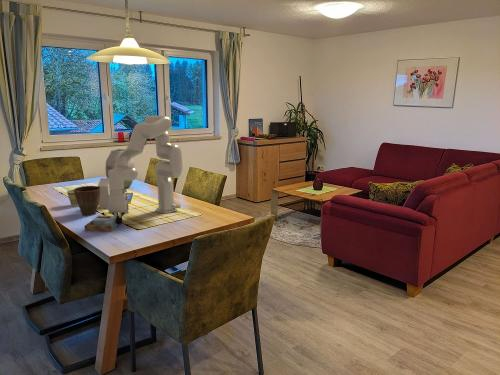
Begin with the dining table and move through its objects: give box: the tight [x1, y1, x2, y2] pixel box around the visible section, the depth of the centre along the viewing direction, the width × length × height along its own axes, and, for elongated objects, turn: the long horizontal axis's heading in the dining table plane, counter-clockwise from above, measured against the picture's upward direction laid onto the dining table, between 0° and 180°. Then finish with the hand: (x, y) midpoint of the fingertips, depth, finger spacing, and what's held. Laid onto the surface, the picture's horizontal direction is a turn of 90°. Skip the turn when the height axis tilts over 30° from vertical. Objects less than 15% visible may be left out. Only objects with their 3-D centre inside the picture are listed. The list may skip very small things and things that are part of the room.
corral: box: [83, 215, 113, 233], centre depth 219 cm, size 14×18×3 cm
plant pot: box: [73, 185, 100, 217], centre depth 239 cm, size 15×15×16 cm
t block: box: [92, 215, 118, 231], centre depth 218 cm, size 12×12×4 cm
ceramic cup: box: [66, 189, 79, 208], centre depth 259 cm, size 13×10×10 cm
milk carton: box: [97, 177, 110, 209], centre depth 254 cm, size 7×7×19 cm
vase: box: [105, 148, 135, 190], centre depth 306 cm, size 21×21×30 cm
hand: (119, 223), depth 218 cm, fingers closed
